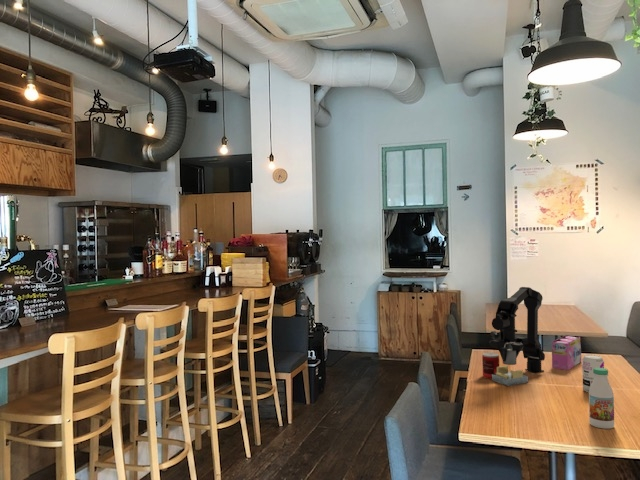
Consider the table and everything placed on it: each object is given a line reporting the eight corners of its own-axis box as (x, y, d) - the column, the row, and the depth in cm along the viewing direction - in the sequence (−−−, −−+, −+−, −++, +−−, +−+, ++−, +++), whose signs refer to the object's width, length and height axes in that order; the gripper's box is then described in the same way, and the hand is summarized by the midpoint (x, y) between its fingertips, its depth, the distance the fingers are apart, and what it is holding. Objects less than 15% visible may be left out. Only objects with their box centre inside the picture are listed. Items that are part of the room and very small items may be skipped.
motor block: (514, 376, 241) (514, 364, 241) (530, 381, 232) (530, 369, 232) (492, 380, 235) (491, 367, 235) (507, 385, 226) (507, 372, 226)
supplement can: (606, 391, 215) (606, 356, 215) (601, 395, 209) (600, 360, 209) (586, 387, 221) (585, 353, 221) (580, 392, 215) (579, 357, 215)
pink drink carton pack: (566, 359, 273) (566, 334, 273) (582, 361, 268) (582, 336, 268) (551, 368, 256) (551, 341, 256) (568, 370, 250) (567, 343, 250)
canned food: (497, 374, 245) (496, 352, 245) (501, 379, 237) (500, 356, 237) (481, 374, 246) (480, 352, 246) (484, 379, 238) (484, 356, 238)
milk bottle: (584, 422, 180) (583, 366, 180) (605, 420, 181) (603, 365, 181) (598, 430, 173) (597, 372, 173) (619, 428, 173) (618, 371, 173)
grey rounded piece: (509, 361, 237) (509, 347, 237) (519, 363, 231) (519, 350, 231) (499, 362, 235) (499, 349, 235) (509, 365, 229) (509, 351, 229)
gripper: (510, 323, 244) (511, 354, 244) (480, 326, 237) (481, 359, 237) (528, 326, 234) (529, 359, 234) (497, 330, 226) (498, 364, 226)
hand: (509, 360), depth 233 cm, fingers closed on grey rounded piece, 6 cm apart
